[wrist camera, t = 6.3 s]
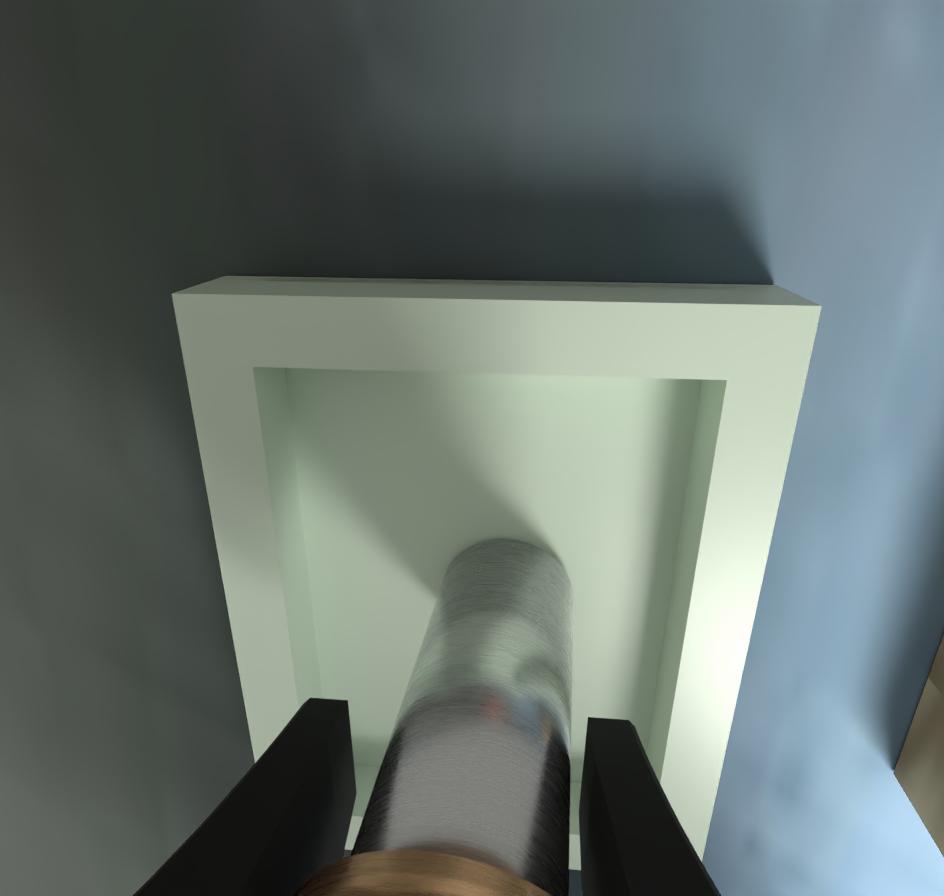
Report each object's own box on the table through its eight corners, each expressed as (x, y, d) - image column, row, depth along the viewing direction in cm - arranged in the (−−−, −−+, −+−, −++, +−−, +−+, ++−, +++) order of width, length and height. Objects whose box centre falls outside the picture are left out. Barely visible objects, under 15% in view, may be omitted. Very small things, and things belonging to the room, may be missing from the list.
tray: (679, 802, 17) (697, 881, 15) (296, 772, 17) (269, 842, 16) (775, 284, 11) (821, 305, 10) (225, 275, 12) (171, 293, 10)
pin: (591, 674, 14) (601, 1202, 7) (423, 656, 15) (268, 1129, 7) (605, 525, 13) (638, 1001, 5) (417, 510, 13) (217, 925, 6)
